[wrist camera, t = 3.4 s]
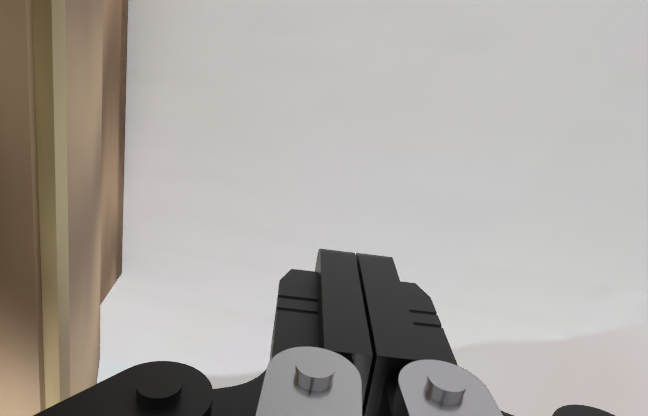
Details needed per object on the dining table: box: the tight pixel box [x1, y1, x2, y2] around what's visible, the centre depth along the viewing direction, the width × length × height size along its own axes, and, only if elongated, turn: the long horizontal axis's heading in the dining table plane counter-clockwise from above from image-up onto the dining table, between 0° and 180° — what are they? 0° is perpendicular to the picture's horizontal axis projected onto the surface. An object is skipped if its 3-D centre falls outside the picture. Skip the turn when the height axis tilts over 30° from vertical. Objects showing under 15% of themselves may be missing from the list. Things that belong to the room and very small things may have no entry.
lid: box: [0, 0, 103, 416], centre depth 13 cm, size 17×12×1 cm
